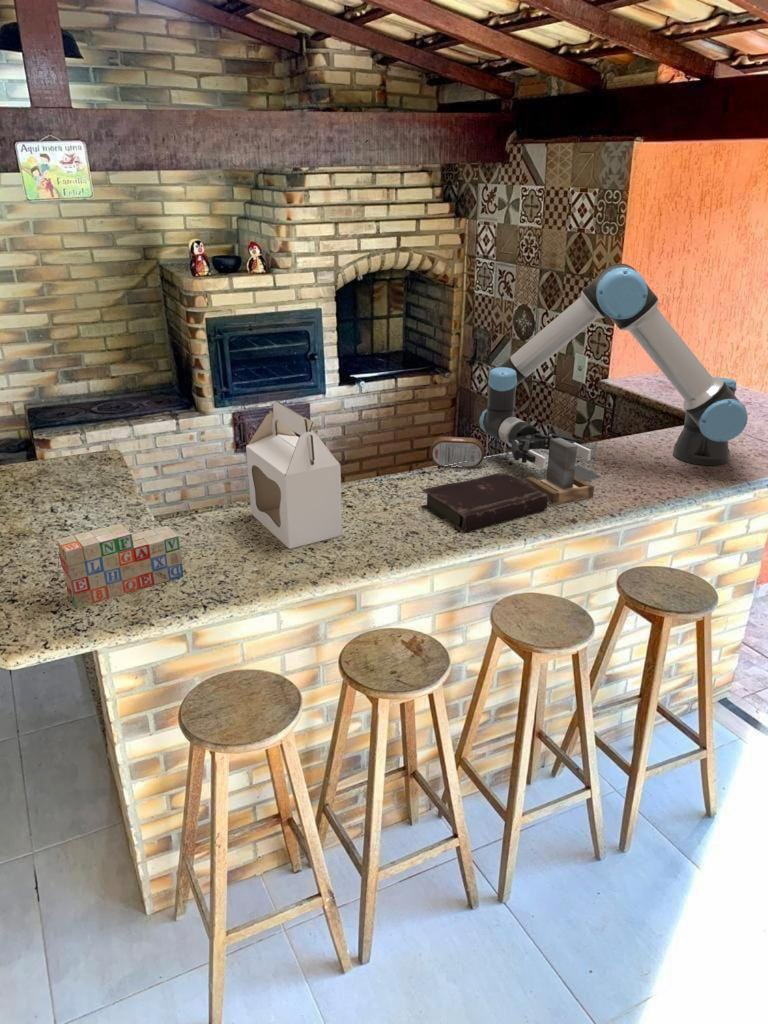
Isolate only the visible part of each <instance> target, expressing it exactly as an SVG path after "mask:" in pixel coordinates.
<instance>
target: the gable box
mask: <svg viewBox="0 0 768 1024" xmlns="http://www.w3.org/2000/svg"><path fill="white" fill-rule="evenodd" d="M272 403H273V406H272V407H273V408H272V410H269V412H268V413H267V414H266V415H265V416H264V418H263V420H262V421H261V423H260V424H259V425H258V427H257V429H256V430H255V432H254V434H253V435H252V437H251V438H250V440H249V441H248V443H247V445H246V447H245V450H246V460H247V463H246V464H247V473H248V476H247V477H248V489H249V497H250V498H249V500H250V501H249V502H250V512H251V515H252V516H253V517H254V518H255V519H256V520H257V521H258V522H259V523H260V524H262V525H263V526H264V527H265V528H266V529H267V530H268V531H269V532H270V533H272V535H273V536H274V537H276V538H277V539H278V541H280V542H281V543H282V544H284V546H286V548H288V549H289V550H291V549H296V548H298V547H303V546H307V545H311V544H314V543H318V542H321V541H322V542H323V541H327V540H330V539H333V538H334V539H335V538H337V537H341V536H342V535H343V524H342V523H343V521H342V517H343V515H342V485H341V484H342V478H341V477H342V476H341V473H342V471H341V463H340V461H338V460H337V459H336V458H335V457H334V455H333V454H332V453H331V451H330V450H329V448H328V447H327V446H326V445H325V444H324V442H323V441H322V439H321V438H320V437H319V436H318V434H317V433H315V432H314V431H311V429H312V427H313V424H314V421H312V420H310V419H309V418H307V417H305V416H304V415H303V414H300V413H298V412H297V411H295V410H294V409H292V408H290V407H289V406H287V405H285V404H283V403H282V402H280V401H279V400H274V401H273V402H272ZM296 434H298V435H299V436H297V435H296ZM311 461H312V462H313V464H311Z"/></svg>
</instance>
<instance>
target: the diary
mask: <svg viewBox="0 0 768 1024" xmlns="http://www.w3.org/2000/svg"><path fill="white" fill-rule="evenodd" d="M421 491H422V492H423V493H425V494H426V504H423V505H421V506H422V508H423V507H424V509H425V510H426V509H427V510H426V511H428V512H430V513H431V514H433V515H435V516H436V517H438V518H440V519H442V520H447V521H449V522H451V523H452V524H454V525H456V526H457V527H460V528H461V529H463V531H462V533H467V532H470V531H473V530H477V528H478V529H481V528H484V527H487V525H488V526H491V524H492V525H495V524H494V523H496V524H499V523H502V521H503V522H506V521H505V520H507V521H510V520H513V518H514V519H517V518H519V517H524V516H527V515H532V514H535V513H538V512H542V511H545V510H547V508H548V502H547V501H548V500H547V494H545V493H543V492H541V491H539V490H537V489H535V488H533V487H532V486H530V485H528V484H527V483H526V481H523V480H521V479H520V478H517V477H516V476H512V475H511V474H508V473H506V472H498V473H494V474H489V475H484V476H481V477H477V478H473V479H468V480H464V481H458V482H451V483H444V484H439V485H437V486H432V487H428V488H424V489H421ZM516 517H517V518H516ZM509 519H510V520H509ZM498 522H499V523H498ZM480 527H481V528H480ZM460 528H458V530H461V529H460Z"/></svg>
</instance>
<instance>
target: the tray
mask: <svg viewBox="0 0 768 1024" xmlns="http://www.w3.org/2000/svg"><path fill="white" fill-rule="evenodd" d="M525 483H527V484H528V485H530V486H532V487H533V488H535V489H537V490H539V491H541V492H543V493H545V494H547V500H548V501H547V504H548V503H549V504H550V505H551V506H554V505H555V506H556V505H562V504H566V503H570V502H571V503H572V502H575V501H582V500H586V499H590V498H594V492H595V486H594V485H593V484H591V483H589V482H587V481H586V480H585V481H583V480H582V479H580V478H578V477H576V476H574V480H573V484H574V485H576V486H577V487H578V488H573V489H568V490H563V491H558V492H557V491H555V490H553V489H551V488H550V487H548V486H546V485H545V484H543V483H541V482H540V481H539V480H538V479H536V478H535V477H533V476H528V477H527V476H526V477H525Z"/></svg>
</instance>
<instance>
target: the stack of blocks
mask: <svg viewBox="0 0 768 1024" xmlns="http://www.w3.org/2000/svg"><path fill="white" fill-rule="evenodd" d="M56 541H57V546H58V551H59V560H60V564H61V567H62V573H63V576H64V580H65V586H66V591H67V595H68V594H69V595H68V597H69V596H70V597H69V598H70V600H71V599H72V600H71V601H72V602H74V603H73V604H74V606H75V607H76V608H81V607H83V606H87V605H91V604H95V603H98V602H101V601H106V600H109V599H113V598H116V597H120V596H123V595H125V594H128V593H131V592H135V591H139V590H141V589H144V588H148V587H152V586H154V585H155V586H156V585H159V584H161V583H165V582H168V581H171V580H175V579H178V578H179V579H180V578H182V577H184V568H183V559H182V557H183V556H182V551H181V545H180V539H179V535H178V534H176V532H175V531H174V530H172V528H170V527H169V526H168V525H165V526H161V527H157V528H153V529H148V530H145V531H141V532H136V533H133V534H132V532H130V530H128V529H127V528H126V527H125V526H124V525H123V524H122V523H118V524H117V523H116V524H113V525H110V526H106V527H101V528H97V529H94V530H90V531H87V532H82V533H78V534H75V535H70V536H69V535H68V536H67V537H61V538H58V539H56ZM112 597H113V598H112ZM105 599H106V600H105Z"/></svg>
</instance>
